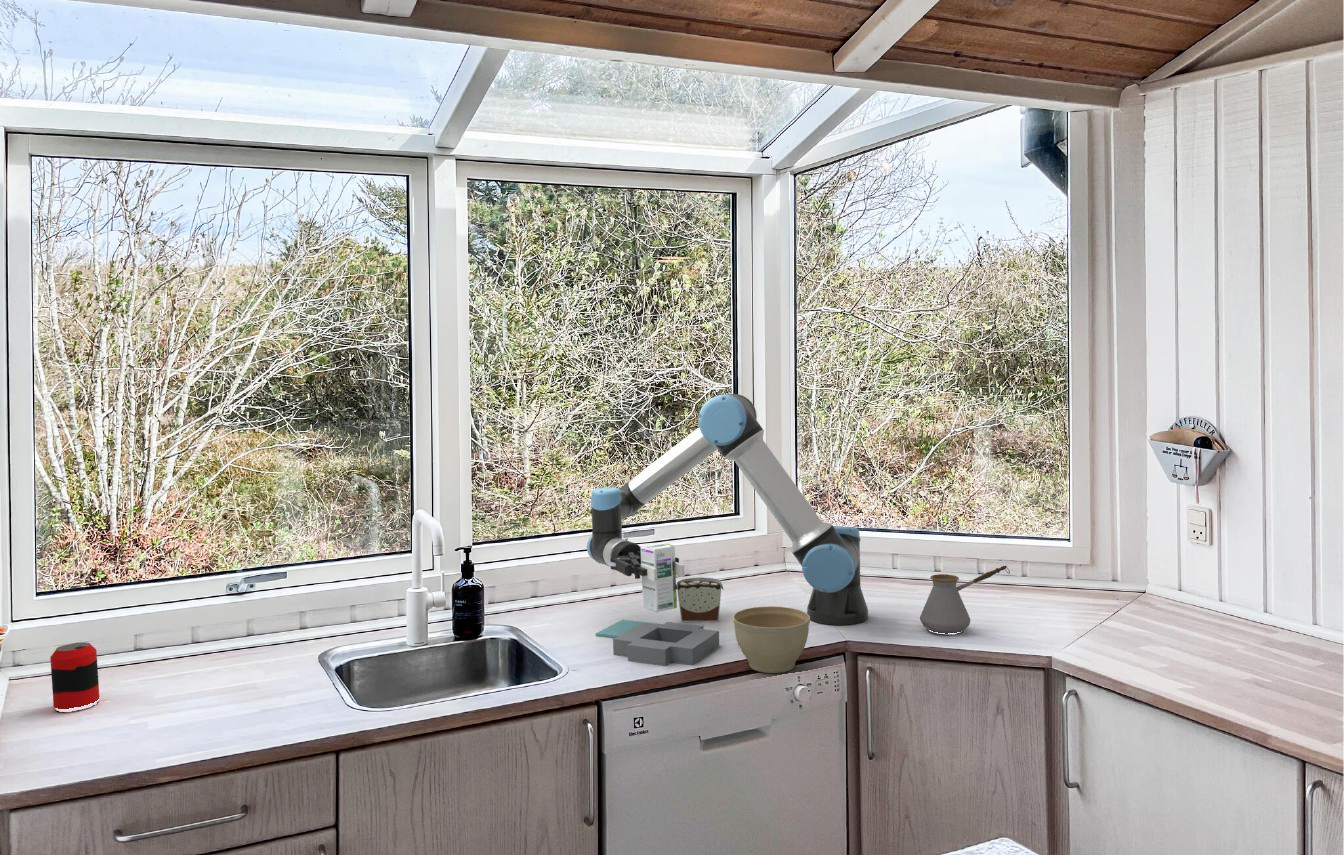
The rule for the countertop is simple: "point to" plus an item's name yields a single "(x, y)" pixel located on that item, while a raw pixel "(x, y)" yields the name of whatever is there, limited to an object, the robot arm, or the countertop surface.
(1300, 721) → the countertop surface
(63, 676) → the soda can
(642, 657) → the frame
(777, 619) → the planter bowl
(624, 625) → the service mat
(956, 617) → the coffee pot
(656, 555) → the syrup box
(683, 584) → the food container
